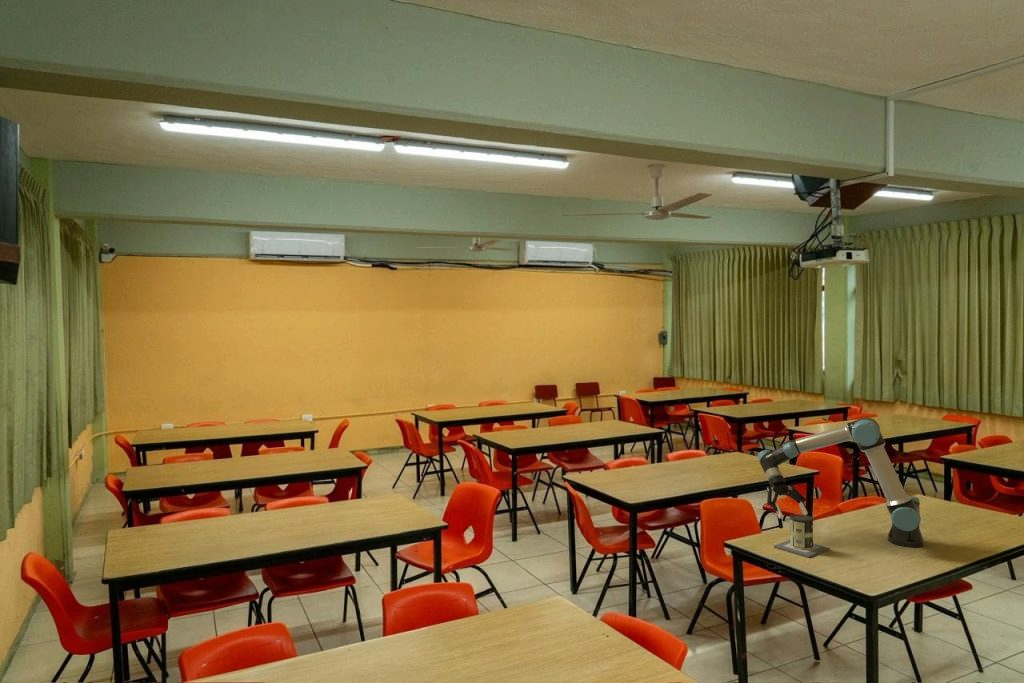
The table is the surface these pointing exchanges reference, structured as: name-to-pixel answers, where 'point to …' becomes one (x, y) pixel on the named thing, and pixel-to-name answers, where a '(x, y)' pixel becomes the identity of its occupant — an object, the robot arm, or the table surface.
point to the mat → (805, 553)
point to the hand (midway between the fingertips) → (793, 516)
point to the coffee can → (801, 532)
